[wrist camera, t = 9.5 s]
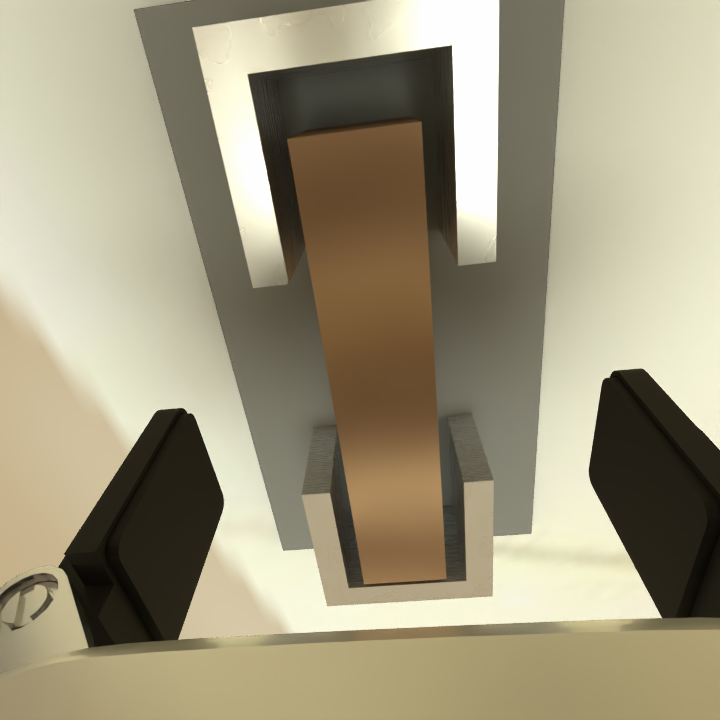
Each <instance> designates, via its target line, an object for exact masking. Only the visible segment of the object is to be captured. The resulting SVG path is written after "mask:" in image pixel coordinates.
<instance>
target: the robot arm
mask: <svg viewBox="0 0 720 720" xmlns="http://www.w3.org/2000/svg"><path fill="white" fill-rule="evenodd" d="M589 477H590V481H591V484H592V486H593V488H594V490H595V492H596V494H597V496H598V498H599V500H600V502H601V503H602V505H603V507H604V509H605V511H606V513H607V515H608V517H609V518H610V520H611V522H612V524H613V526H614V528H615V530H616V532H617V534H618V535H619V537H620V539H621V541H622V543H623V545H624V547H625V549H626V551H627V552H628V554H629V556H630V558H631V560H632V562H633V564H634V566H635V568H636V569H637V571H638V573H639V575H640V577H641V579H642V581H643V583H644V585H645V586H646V588H647V590H648V592H649V594H650V596H651V598H652V600H653V602H654V603H655V605H656V607H657V609H658V611H659V613H660V615H661V617H662V618H655V619H613V620H586V621H562V622H537V623H512V624H487V625H464V626H442V627H420V628H397V629H376V630H355V631H333V632H313V633H293V634H274V635H254V636H235V637H216V638H199V639H184V640H178V638H179V635H180V632H181V630H182V627H183V624H184V621H185V618H186V615H187V612H188V609H189V606H190V604H191V601H192V597H193V595H194V592H195V589H196V586H197V583H198V581H199V578H200V575H201V572H202V569H203V566H204V563H205V560H206V557H207V554H208V552H209V549H210V546H211V543H212V540H213V537H214V534H215V532H216V529H217V526H218V523H219V520H220V517H221V514H222V511H223V506H224V498H223V494H222V491H221V488H220V485H219V483H218V480H217V477H216V474H215V472H214V469H213V466H212V463H211V460H210V458H209V455H208V452H207V449H206V447H205V444H204V441H203V438H202V436H201V433H200V430H199V427H198V425H197V422H196V419H195V417H194V415H193V414H191V413H190V414H187V412H186V410H185V409H183V408H177V409H166V410H158V411H157V412H156V413H155V414H154V416H153V417H152V419H151V420H150V422H149V423H148V425H147V426H146V428H145V430H144V431H143V433H142V434H141V436H140V437H139V439H138V440H137V442H136V443H135V445H134V447H133V448H132V450H131V451H130V453H129V454H128V456H127V457H126V459H125V460H124V462H123V464H122V465H121V467H120V468H119V470H118V471H117V473H116V474H115V476H114V478H113V479H112V481H111V482H110V484H109V485H108V487H107V488H106V490H105V491H104V493H103V494H102V496H101V498H100V499H99V501H98V502H97V504H96V505H95V507H94V508H93V510H92V512H91V513H90V515H89V516H88V518H87V519H86V521H85V523H84V524H83V525H82V527H81V529H80V530H79V532H78V533H77V535H76V536H75V538H74V540H73V541H72V542H71V544H70V546H69V547H68V549H67V550H66V552H65V553H64V554H65V557H64V559H63V560H62V562H61V564H60V565H59V567H56V566H42V567H38V568H34V569H31V570H28V571H26V572H24V573H22V574H20V575H18V576H16V577H14V578H13V579H11V580H10V581H8V582H7V583H5V584H4V585H3V586H2V587H1V588H0V720H720V450H719V449H718V448H717V447H716V446H715V445H714V443H713V442H712V441H711V440H710V439H709V438H708V437H707V436H706V435H705V434H704V433H703V431H701V430H700V429H699V428H698V427H697V426H696V425H695V424H694V423H693V422H692V421H691V420H690V419H689V418H688V417H687V416H686V414H685V413H684V412H683V411H682V410H681V409H680V408H679V407H678V406H677V405H676V404H675V402H674V401H673V400H672V399H671V398H670V397H669V396H668V395H667V394H666V393H665V391H664V390H663V389H662V388H661V387H660V386H659V385H658V384H657V383H656V382H655V381H654V379H653V378H652V377H651V376H650V375H649V374H648V373H647V372H646V371H645V370H644V369H630V370H618V371H614V372H612V374H611V376H610V378H605V379H604V380H603V382H602V387H601V394H600V400H599V407H598V413H597V420H596V426H595V433H594V439H593V446H592V452H591V459H590V465H589Z"/></svg>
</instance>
